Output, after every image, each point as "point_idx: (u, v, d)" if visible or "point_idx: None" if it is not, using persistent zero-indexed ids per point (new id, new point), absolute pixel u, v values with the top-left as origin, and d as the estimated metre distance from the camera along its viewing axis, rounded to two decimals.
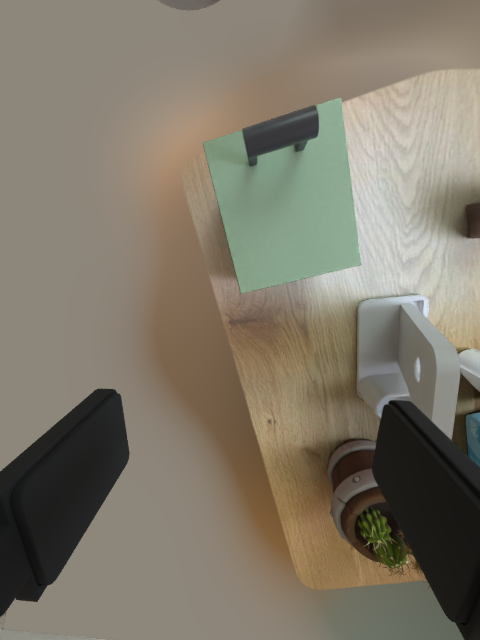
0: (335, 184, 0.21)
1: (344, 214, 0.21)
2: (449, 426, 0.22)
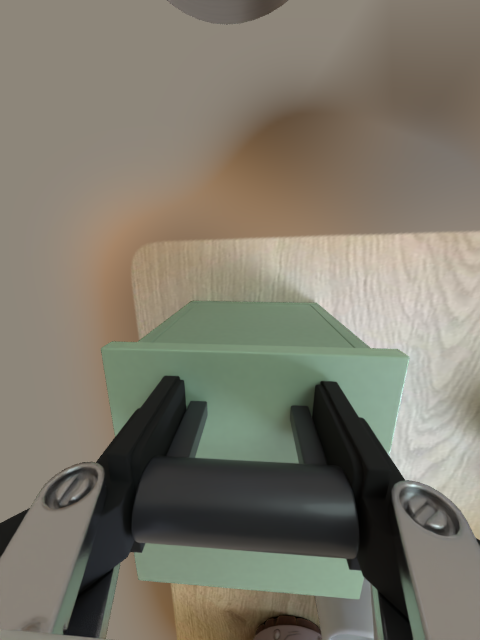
0: None
1: None
2: None
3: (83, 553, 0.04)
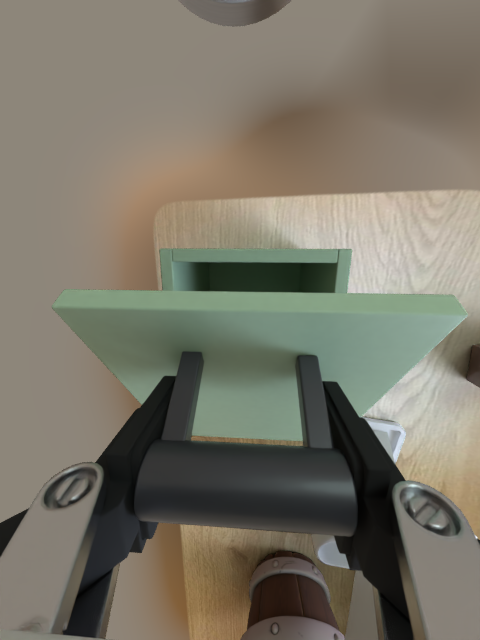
0: None
1: None
2: None
3: (83, 553, 0.04)
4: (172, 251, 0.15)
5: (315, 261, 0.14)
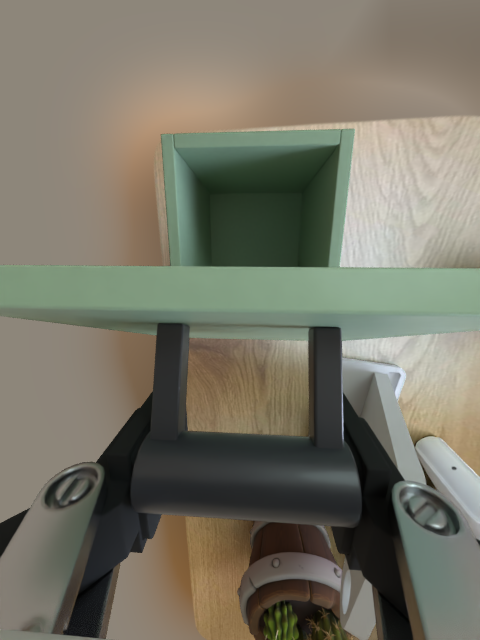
0: (360, 336, 0.10)
1: (345, 338, 0.12)
2: None
3: (83, 553, 0.04)
4: (174, 137, 0.15)
5: (317, 143, 0.14)
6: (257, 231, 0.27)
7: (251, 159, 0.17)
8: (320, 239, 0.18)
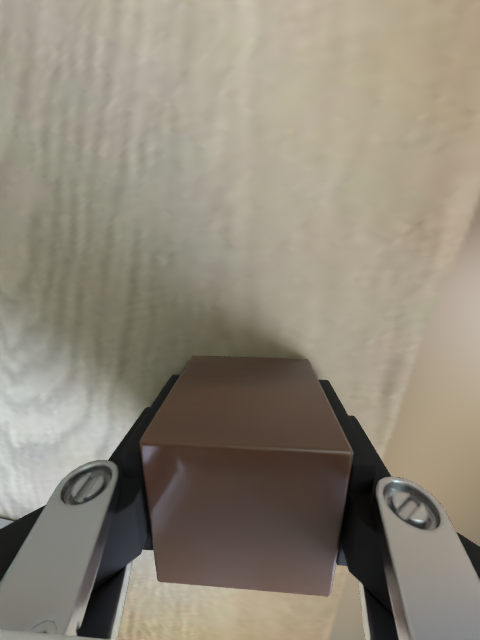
0: None
1: None
2: None
3: (97, 552, 0.04)
4: None
5: None
6: None
7: None
8: None
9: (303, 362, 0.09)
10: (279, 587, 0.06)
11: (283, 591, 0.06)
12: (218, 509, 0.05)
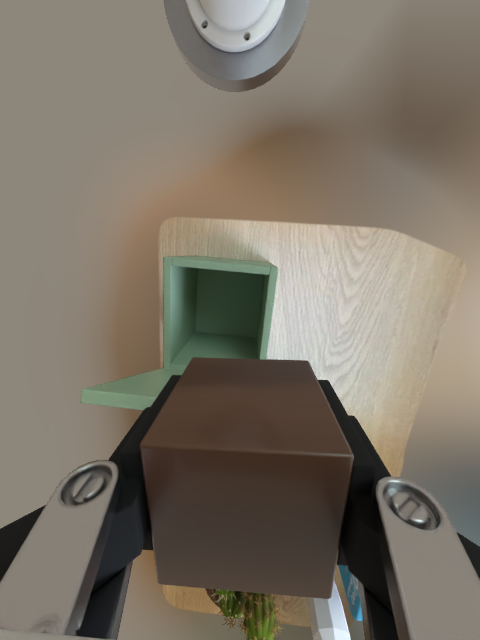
0: None
1: None
2: None
3: (97, 552, 0.04)
4: (171, 259, 0.24)
5: (256, 272, 0.24)
6: (231, 290, 0.37)
7: None
8: (262, 318, 0.28)
9: (303, 364, 0.09)
10: (279, 589, 0.06)
11: (283, 593, 0.06)
12: (218, 512, 0.05)
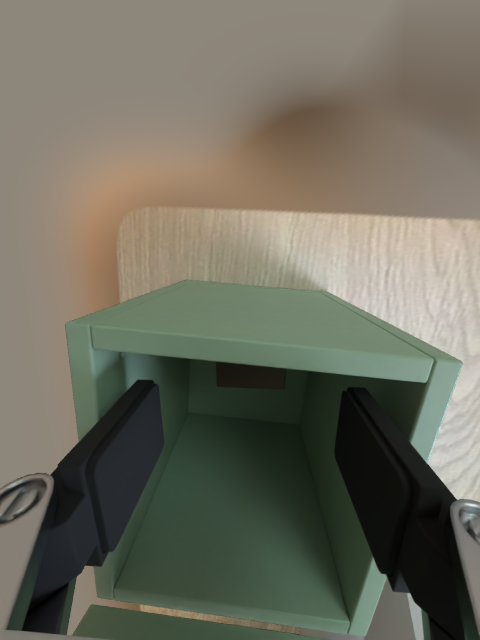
0: None
1: None
2: None
3: (34, 562, 0.04)
4: (93, 329, 0.07)
5: (382, 376, 0.07)
6: None
7: None
8: None
9: None
10: (264, 385, 0.16)
11: (266, 387, 0.16)
12: None
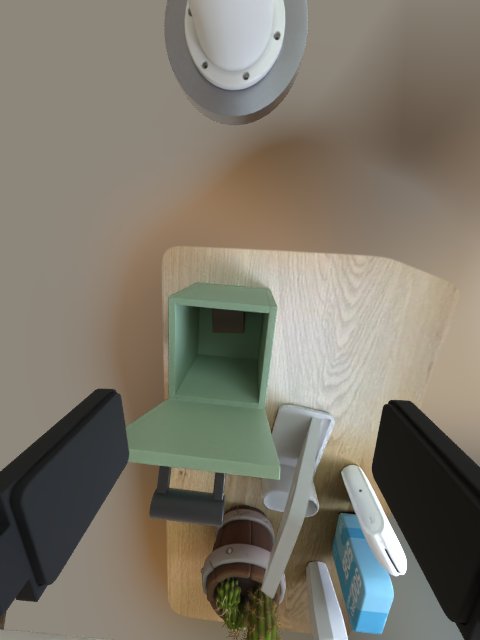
0: None
1: None
2: (286, 556, 0.28)
3: None
4: (175, 299, 0.26)
5: (256, 311, 0.25)
6: None
7: None
8: (263, 349, 0.29)
9: None
10: (234, 331, 0.34)
11: (235, 332, 0.34)
12: (224, 314, 0.33)
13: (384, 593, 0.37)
